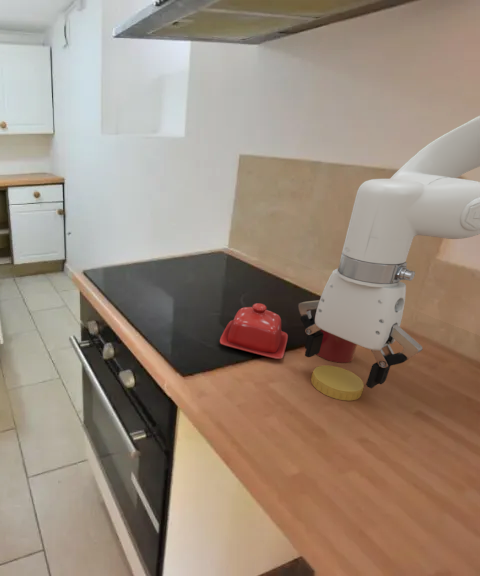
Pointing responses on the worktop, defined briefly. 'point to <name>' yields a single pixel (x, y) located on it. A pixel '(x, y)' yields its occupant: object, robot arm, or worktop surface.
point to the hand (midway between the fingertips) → (340, 368)
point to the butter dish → (256, 332)
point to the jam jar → (336, 348)
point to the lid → (337, 382)
